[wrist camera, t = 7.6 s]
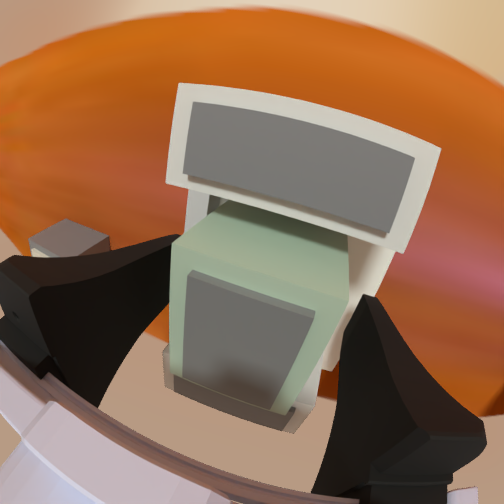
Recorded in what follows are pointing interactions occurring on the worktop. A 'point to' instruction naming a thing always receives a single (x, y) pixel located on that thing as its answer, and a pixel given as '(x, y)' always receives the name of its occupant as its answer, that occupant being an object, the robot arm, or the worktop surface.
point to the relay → (68, 241)
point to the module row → (298, 194)
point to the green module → (254, 303)
